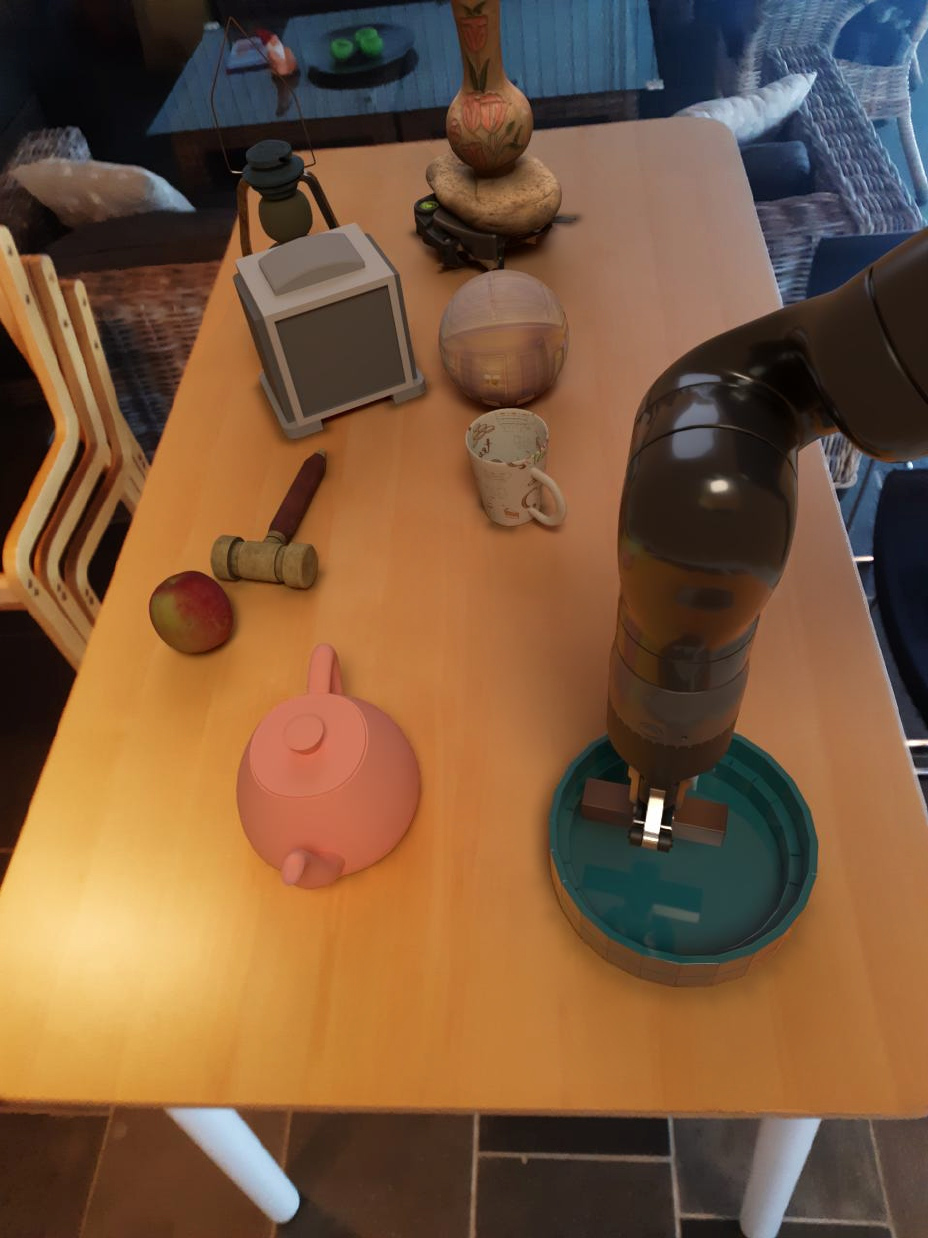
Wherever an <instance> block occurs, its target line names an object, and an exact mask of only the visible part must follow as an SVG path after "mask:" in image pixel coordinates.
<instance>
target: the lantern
mask: <svg viewBox="0 0 928 1238" xmlns="http://www.w3.org/2000/svg"><path fill="white" fill-rule="evenodd" d="M231 21H233V23H234V24H235V25H236V26H237V27H238V28H239V30H240V31H241V32H242V34H244V36H245V37H246V38H247V40H248V41H249V42H250V43H251V44H252V46H253V47H254V48H255V49H256V50H257V52H258V53H259V54H260V55H261V56H262V58H263V59H264V60H265V61H266V63H267V64H268V65H269V66H270V67H271V69H272V70H273V71H274V73H275V74H276V75H277V76H278V77H279V78H280V79H281V81H282V82H283V83H284V84H285V86H286V87H287V88H288V90H289V92H290V93H291V95H292V97H293V99H294V102H295V106H296V108H297V112H298V114H299V118H300V121H301V125H302V127H303V130H304V133H305V137H306V140H307V143H308V146H309V149H310V153H311V156H312V159H313V163H310V164H307V165H305V162H304V161H305V160H304V159H303V157H301V156H300V155H297V154H295V153H293V149H292V145H291V144H290V143H289V142H287V141H285V140H280V139H267V140H262V141H259V142H258V143H256V144H254V145H253V146H251V147H250V148H249V149H247V151H246V152H245V158H246V163H247V164H246V165H245V166H244V167H243V169H242V171H236V170H232V169H231V167H230V164H229V161H228V158H227V153H226V150H225V146H224V143H223V139H222V135H221V131H220V128H219V127H220V126H219V123H218V120H217V115H216V112H215V111H216V110H215V108H214V100H213V99H214V91H215V88H216V87H215V86H216V83H217V79H218V74H219V70H220V65H221V61H222V56H223V52H224V48H225V44H226V39H227V35H228V31H229V26H230V22H231ZM223 37H224V38H223V42H222V45H221V50H220V55H219V58H218V62H217V66H216V70H215V75H214V79H213V83H212V87H211V91H210V99H209V100H210V107H211V111H212V115H213V120H214V122H215V127H216V129H217V133H218V137H219V140H220V141H219V142H220V144H221V148H222V152H223V155H224V159H225V162H226V165H227V168H228V170H229V172H230V173H231V174H240V175H241V178H240V180H239V182H238V184H237V187H236V200H237V213H238V226H239V227H238V228H239V243H240V249H241V255H242V257H246V256H249V255H252V254H254V252H253V248H252V242H251V230H250V228H251V227H250V213H249V197H248V188H249V187H251V189H252V190H253V191H254V192H256V193H258V194H259V196H261V197H260V199H259V202H258V205H257V206H258V208H257V209H258V213H257V214H258V219H259V222H260V225H261V228H262V230H263V232H264V233H265V234H266V236H267V237H268V238H270V239H271V240H272V241H274V242H275V243H273V244H272V245H270V247H268V249H271V248H274V247H278V246H281V245H283V244H285V243H288V242H290V241H293V240H295V239H298V238H301V237H305V236H310V235H311V234H309V233H310V231H311V229H312V228H313V224H314V216H313V211H312V206H311V204H310V203H311V202H310V200H309V198H308V197H307V195H306V194H305V192H304V191H302V190H301V189H299V188H298V186H299V184H300V182H301V183H302V182H303V183H305V184H306V185H307V187H308V188H309V190H310V192H311V194H312V196H313V198H314V200H315V203H316V205H317V206H318V210H319V211H320V213H321V215H322V217H323V219H324V222H325V223H326V225H327V228H328V229H329V230H332V229H335V228H338V227H341V225H340V223H339V222H338V219H337V218H336V215H335V213H334V211H333V209H332V207H331V205H330V202H329V200H328V198H327V196H326V194H325V192H324V189H323V188H322V185H321V183H320V181H319V180H318V177H317V176H316V175H315V174H314V173H313V172H311V171H309V170H306V169H307V168H310V167H313V166H316V164H317V162H316V158H315V154H314V151H313V148H312V145H311V141H310V138H309V134H308V131H307V128H306V125H305V121H304V118H303V114H302V112H301V108H300V104H299V102H298V101H299V100H297V96H296V94H295V92H294V91H293V89H292V88H291V86H290V85H289V84H288V82H287V81H286V80H285V79H284V78H283V76H282V75H281V74H280V73H279V71H278V70H277V68H275V66H274V65H272V63H271V62H270V60H268V58H267V57H266V56H265V55H264V53H263V52H262V51H261V50H260V49H259V47H258V46H257V45H256V44H255V43H254V41H253V40H252V39H251V38H250V37H249V36H248V35H247V32H245V31H244V29H243V28H242V27H241V26H240V25H239V24H238V22H237V21H236V20H235V19H234V17H232V16H229V17H228V22H227V26H226V30H225V34H224V36H223Z"/></svg>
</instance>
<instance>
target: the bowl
mask: <svg viewBox="0 0 928 1238" xmlns="http://www.w3.org/2000/svg"><path fill="white" fill-rule="evenodd" d="M628 773H629V764H628V763H627V762H626V761H625V760H623V759H622V757H621V756H620V755H619V754H618V753H617V751H616V750H615V748H614V747H613V745H612V743H611V741H610V738H609V735H608V732H607V733H605V734H603V735H601V736H600V737H598V738H596V739H594V740H592V741H591V742H590V743H589V744H587V746H585V748H583V750H581V752H580V753H578V755H576V756H575V757H574V759H573V760H572V761H570V763H569V764H568V765H567V767H566V769H565V771H564V773H563V774H562V776H561V778H560V780H559V782H558V784H557V785H556V787H555V790H554V792H553V797H552V802H551V806H550V810H549V815H548V839H549V840H548V841H549V856H550V857H549V858H550V872H551V874H550V875H551V881H552V883H553V886H554V889H555V892H556V895H557V898H558V901H559V904H560V907H561V909H562V910H563V912H564V914H565V915H566V917H567V918H568V921H569V922H570V924H571V925H572V926H573V928H574V929H575V932H576V933H577V934H578V936H579V937H580V938H581V939H582V940H583V941H584V942H585V943H586V944H587V945H588V946H589V947H591V948H592V949H593V950H594V951H595V952H596V953H597V954H598V955H599V956H601V957H602V958H603V959H604V960H605V961H606V962H607V963H609V964H611V965H613V966H615V967H617V968H619V969H621V970H622V971H624V972H626V973H627V974H630V975H632V976H634V977H635V978H637V979H640V980H644V981H647V982H652V983H656V984H660V985H664V986H668V987H672V988H706V987H708V988H709V987H714V986H717V985H720V984H724V983H727V982H730V981H733V980H736V979H740V978H743V977H745V976H747V975H748V974H749V973H751V972H753V971H754V970H755V969H757V968H758V967H760V966H761V965H763V964H764V963H766V962H767V961H768V960H770V959H771V958H772V957H773V956H774V955H775V954H776V952H777V951H778V950H779V948H780V947H781V946H782V945H783V943H784V942H785V941H786V940H787V938H788V937H789V936H790V935H791V933H792V932H793V930H794V929H795V927H796V924H797V923H798V921H799V919H800V917H801V916H802V914H803V912H804V911H805V909H806V907H807V905H808V901H809V899H810V896H811V894H812V891H813V888H814V885H815V882H816V879H817V878H818V877H817V876H818V863H819V838H818V835H817V831H816V826H815V822H814V819H813V815H812V810H811V809H810V807H809V805H808V803H807V802H806V801H807V800H805V798H804V796H803V794H802V792H801V791H800V789H799V787H798V785H797V783H796V781H795V780H794V778H793V777H792V776H791V775H790V774H789V773H788V772H787V771H786V770H785V769H784V768H783V766H782V765H780V763H779V762H778V761H777V760H776V759H775V758H774V756H772V755H771V754H770V753H768V752H767V751H765V749H763V748H762V747H760V746H759V745H757V744H755V742H752V741H751V740H750V739H748V738H747V737H745V736H743V735H742V734H739V733H737V732H735V731H734V732H733V736H732V739H731V743H730V746H729V748H728V750H727V752H726V754H725V755H724V756H723V758H722V759H721V760H720V761H719V762H718V763H717V764H716V765H715V766H714V767H713V768H711V769H710V770H708V771H706V772H705V773H702V774H700V775H698V776H695V777H693V780H692V785H691V788H689V789H687V790H686V793H685V797H690V798H695V799H700V800H705V801H711V802H716V803H721V804H726V805H728V816H727V826H726V834H725V837H724V840H723V843H722V846H721V847H718V846H714V845H709V844H704V843H699V842H694V841H689V840H684V839H679V838H675V837H672V839H674V841H673V848H671V847H670V851H669V853H666V852H661V851H657V850H652V849H647V848H642V847H638V846H633V845H629V840H630V839H628V838H627V837H628V831H629V830H630V828H626V827H621V826H616V825H611V824H606V823H601V822H596V821H592V820H587V819H582V818H581V803H582V799H583V794H584V789H585V784H586V779H587V778H592V779H597V780H602V781H607V782H612V783H618V784H623V785H628V786H631V782H632V779H631V778H630V777H629V776H628Z"/></svg>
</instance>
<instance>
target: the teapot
mask: <svg viewBox="0 0 928 1238" xmlns="http://www.w3.org/2000/svg"><path fill="white" fill-rule="evenodd" d="M307 673H308V675H307V683H306V684H307V685H306V694H302V695H297V696H294V697H291V698H288V699H286V700H284V701H282V702H280V703H279V704H277V705H276V706H275V707H273V708H272V709H271V710H270V711H268V712H267V714H266V715H265V716H264V717H263V718H262V719H261V720H260V721H259V722H258V724H257V726H256V728H255V729H254V730H253V732H252V733H251V735H250V738H249V740H248V742H247V744H246V746H245V747H244V751H243V753H242V756H241V759H240V761H239V766H238V771H237V777H236V788H235V792H236V793H235V794H236V806H237V811H238V817H239V820H240V823H241V828H242V829H243V832H244V835H245V837H246V839H247V841H248V843H249V844H250V846H251V848H252V849H253V850H254V852H255V853H256V854H257V856H258V857H259V858H260V859H261V860H263V861H264V862H265V863H266V864H267V865H269V866H270V867H271V868H273V869H275V870H278V871H279V872H280V874H281V875H280V876H281V881H282V883H283V884H284V885H285V886H286V887H291V886H295V887H297V888H299V889H303V890H317V889H321V888H322V889H323V888H325V887H328V886H331V885H332V884H333V883H334V882H336V880H337V879H338V878H339V877H343V876H346V875H352V874H354V873H357V872H361V871H363V870H365V869H367V868H369V867H371V866H373V865H374V864H376V863H378V862H379V861H380V860H382V859H384V858H385V856H387V855H388V854H389V853H390V852H391V851H392V850H393V849H394V848H395V847H396V846H397V845H398V844H399V843H400V841H401V840H402V839H403V837H404V836H405V834H406V832H407V831H408V829H409V827H410V825H411V823H412V821H413V819H414V816H415V813H416V810H417V808H418V803H419V798H420V791H421V774H420V768H419V763H418V760H417V757H416V754H415V751H414V749H413V746H412V744H411V742H410V740H409V739H408V737H407V735H406V734H405V733H404V731H403V730H402V729H401V727H400V726H399V724H397V723H396V722H395V720H394V719H393V718H392V717H390V715H389V714H387V713H386V712H385V711H384V710H382V709H381V708H379V707H377V705H374V704H373V703H370V702H368V701H367V700H364V699H360V698H358V697H356V696H350V695H346V694H345V693H344V685H343V680H342V673H341V666H340V662H339V658H338V655H337V651H336V649H335V647H334V646H332V645H331V644H329V643H320V644H318V645H316V646H315V647H314V649H313V650H312V653H311V655H310V661H309V667H308V672H307Z"/></svg>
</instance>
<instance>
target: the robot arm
mask: <svg viewBox="0 0 928 1238" xmlns="http://www.w3.org/2000/svg"><path fill="white" fill-rule="evenodd" d="M633 421H634V422H633V426H632V433H631V438H630V443H629V444H630V445H629V450H628V456H627V462H626V468H625V474H624V479H623V482H622V483H623V484H622V487H621V495H620V500H619V501H620V502H619V510H618V522H617V542H616V544H617V547H616V549H617V550H616V551H617V552H616V554H617V568H618V569H617V570H618V575H619V576H618V577H619V583H620V584H619V591H618V598H617V612H616V613H617V614H616V626H615V627H616V628H615V635H614V638H613V642H612V645H611V650H610V655H609V666H608V667H609V668H608V681H607V682H608V684H607V701H606V717H605V719H606V720H605V723H606V724H605V725H606V732H607V733H608V735H609V738H610V741H611V743H612V745H613V747H614V748H615V750H616V751H617V753H618V754H619V755H620V756H621V757H622V759H623V760H625V761H626V762H627V763H628V764H629V773H628V776H629V777H630V778H631V779H632V782H631V790H630V798H629V799H630V801H631V802H632V803H634V804H635V805H636V807H635V806H634V811H633V814H635V817H634V818H633V824H632V826H631V828H630V830H629V831H628V837H627V838H628V839H630V840H629V845H633V846H638V847H642V848H647V849H652V850H657V851H661V852H666V853H669V851H670V847H671V848H673V841H674V839H672V828H673V825H672V824H671V822H674V817H675V814H673V813H674V812H680V811H681V810H682V808H683V803H684V798H685V793H686V790H687V789H689V788H691V785H692V780H693V777H695V776H698V775H700V774H702V773H705V772H706V771H708V770H710V769H711V768H713V767H714V766H715V765H716V764H717V763H718V762H719V761H720V760H721V759H722V758H723V756H724V755H725V754H726V752H727V750H728V748H729V746H730V743H731V739H732V736H733V732H735V728H736V726H737V721H738V717H739V714H740V711H741V707H742V703H743V699H744V696H745V693H746V689H747V686H748V680H749V675H750V657H751V652H752V649H753V648H752V647H753V644H754V641H755V637H756V633H757V630H758V627H759V626H758V625H759V621H760V618H761V612H762V611H763V610H764V608H765V606H767V605H766V604H767V603H768V601H769V599H770V598H771V596H772V595H773V593H774V591H775V590H776V588H777V586H778V585H779V582H780V580H781V579H782V576H783V574H784V571H785V569H786V566H787V563H788V560H789V556H790V553H791V549H792V546H793V541H794V537H795V536H794V535H795V532H796V527H797V526H796V525H797V517H798V505H799V452H800V451H802V450H803V449H804V448H806V447H807V446H809V445H811V444H812V443H813V442H816V441H817V440H820V439H822V438H825V437H827V436H830V435H834V434H836V433H837V434H838V433H840V434H841V435H842V436H843V437H844V438H845V439H846V441H848V443H850V445H851V446H852V447H853V448H855V449H856V450H857V451H859V452H860V453H861V454H862V455H864V456H866V457H868V458H870V459H872V460H874V461H878V462H881V463H886V464H903V463H909V462H913V461H917V460H920V459H922V458H925V457H928V225H926V226H924V227H923V228H922V229H920V230H919V231H917V232H916V233H914V234H913V235H911V236H910V237H908V238H907V239H904V241H903V242H901V243H899V244H898V245H896V246H895V247H893V248H891V249H890V250H889V251H887V252H886V253H884V254H882V255H881V256H880V257H878V258H877V259H876V260H875V261H874V262H872V263H869V264H868V265H867V266H865V267H864V268H863V269H861V270H860V271H859V272H857V273H855V274H854V275H853V276H852V277H851V278H849V279H848V280H847V281H845V282H844V283H842V284H841V285H840V286H838V287H836V288H833V289H832V290H830V291H827V292H824V293H821V294H819V295H816V296H812V297H810V298H807V299H803V300H800V301H797V302H794V303H792V304H789V305H786V306H783V307H781V308H779V309H777V310H775V311H772V312H770V313H768V314H764V315H762V316H760V317H758V318H755V319H753V320H751V321H748V322H744V323H743V324H741V325H738V326H736V327H734V328H731V329H729V330H726V331H724V332H721V333H720V334H717V335H715V336H713V337H711V338H709V339H707V340H705V341H703V342H701V343H699V344H698V345H696V346H695V347H693V348H691V349H690V350H689V351H687V352H686V353H684V354H683V355H681V356H680V357H678V358H677V359H676V360H675V361H674V362H673V363H671V364H670V365H669V366H668V367H667V368H666V369H665V370H664V371H663V372H662V373H661V374H660V375H659V376H658V377H657V378H656V379H655V381H654V382H653V383H652V384H651V385H650V386H649V388H648V389H647V391H646V392H645V394H644V396H643V397H642V399H641V401H640V403H639V406H638V408H637V410H636V414H635V417H634V420H633Z"/></svg>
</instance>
